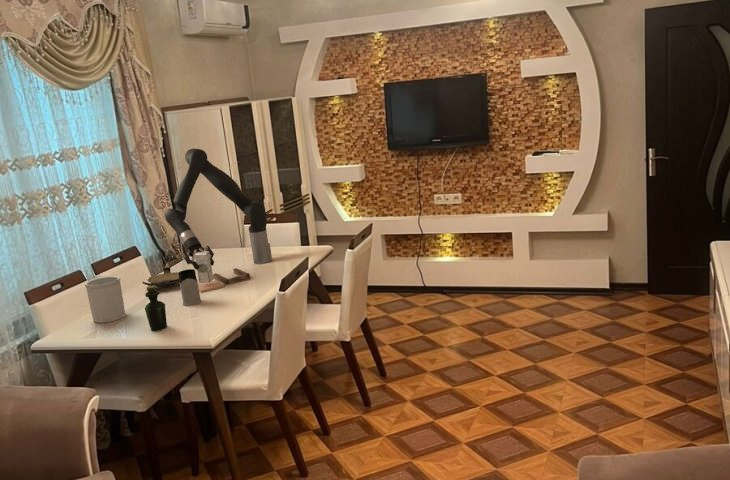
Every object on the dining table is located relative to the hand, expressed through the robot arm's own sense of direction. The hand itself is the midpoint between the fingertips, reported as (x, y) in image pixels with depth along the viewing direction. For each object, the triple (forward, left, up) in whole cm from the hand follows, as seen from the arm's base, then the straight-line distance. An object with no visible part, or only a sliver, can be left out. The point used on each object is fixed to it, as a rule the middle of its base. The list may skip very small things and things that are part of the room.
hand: (205, 266), depth 347 cm
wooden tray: (-14, -5, -11) cm, 18 cm away
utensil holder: (+49, +7, -11) cm, 51 cm away
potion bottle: (+37, +42, -11) cm, 57 cm away
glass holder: (+14, +16, -11) cm, 24 cm away
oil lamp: (+12, -25, -11) cm, 30 cm away
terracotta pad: (0, 0, -11) cm, 11 cm away
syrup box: (0, -1, -8) cm, 8 cm away
